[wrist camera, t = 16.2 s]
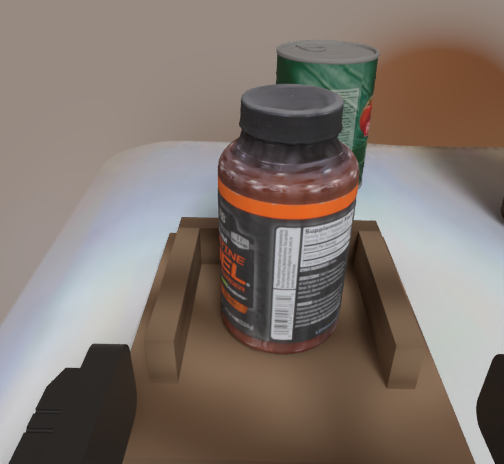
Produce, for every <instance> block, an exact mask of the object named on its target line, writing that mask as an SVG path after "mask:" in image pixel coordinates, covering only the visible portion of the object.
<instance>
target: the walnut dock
mask: <svg viewBox="0 0 504 464" xmlns="http://www.w3.org/2000/svg"><path fill="white" fill-rule="evenodd" d="M130 354H131V360H132V366H133V372H134V378H135V383H136V389H137V408H136V415H135V419H134V423H133V427H132V430H131V434H130V438H129V441H128V445H127V449H126V452H125V456H124V460H123V463H122V464H475V462H474V459H473V457H472V454H471V452H470V449H469V447H468V444H467V442H466V439H465V437H464V435H463V432H462V430H461V427H460V425H459V422H458V420H457V417H456V415H455V412H454V410H453V407H452V405H451V402H450V400H449V398H448V395H447V393H446V390H445V388H444V385H443V383H442V380H441V378H440V375H439V373H438V370H437V368H436V365H435V363H434V361H433V358H432V356H431V353H430V351H429V348H428V346H427V343H426V341H425V338H424V336H423V333H422V331H421V328H420V326H419V324H418V321H417V319H416V316H415V314H414V311H413V309H412V306H411V304H410V301H409V299H408V296H407V294H406V291H405V289H404V287H403V284H402V282H401V279H400V277H399V274H398V272H397V269H396V267H395V264H394V262H393V259H392V257H391V254H390V252H389V250H388V247H387V245H386V242H385V240H384V237H382V235H381V232H380V230H379V227H378V225H377V222H376V221H361V220H353V226H352V233H351V239H350V247H349V253H348V260H347V267H346V274H345V281H344V288H343V293H342V301H341V308H340V313H339V317H338V322H337V325H336V328H335V330H334V332H333V333H332V335H331V336H330V337H329V338H328V339H327V340H326V341H324V342H323V343H321V344H320V345H319V346H317V347H315V348H313V349H309V350H308V351H305V352H303V353H295V354H274V353H267V352H263V351H258V350H255V349H253V348H252V347H249V346H247V345H245V344H244V343H242V342H241V341H239V340H238V339H237V338H236V337H235V336H234V335H233V334H231V332H230V331H229V329H228V328H227V327H226V325H225V322H224V319H223V315H222V307H221V290H220V245H219V218H197V217H182V218H181V221H180V224H179V228H178V231H177V233H170V234H169V237H168V240H167V243H166V246H165V249H164V252H163V255H162V258H161V261H160V264H159V267H158V270H157V273H156V276H155V279H154V282H153V285H152V288H151V291H150V294H149V298H148V301H147V304H146V307H145V310H144V313H143V316H142V319H141V322H140V325H139V328H138V331H137V334H136V337H135V340H134V343H133V346H132V349H131V352H130Z"/></svg>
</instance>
